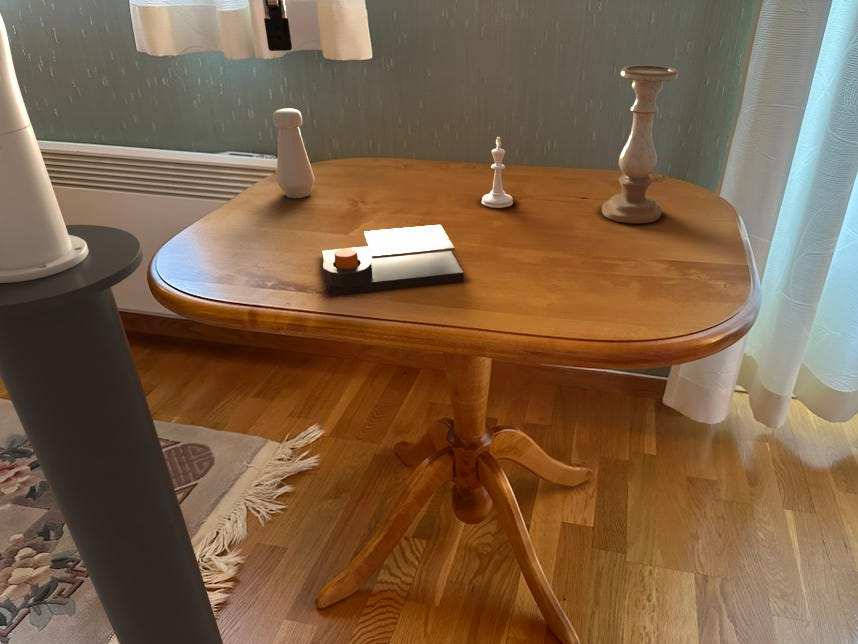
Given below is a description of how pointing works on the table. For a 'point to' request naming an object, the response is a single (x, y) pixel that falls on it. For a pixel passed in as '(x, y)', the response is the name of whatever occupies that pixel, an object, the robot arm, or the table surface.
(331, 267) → the scale
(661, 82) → the candle holder
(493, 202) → the chess piece
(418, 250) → the weighing plate
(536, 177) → the table surface
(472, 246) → the table surface
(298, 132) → the salt shaker
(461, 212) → the table surface
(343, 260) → the button
